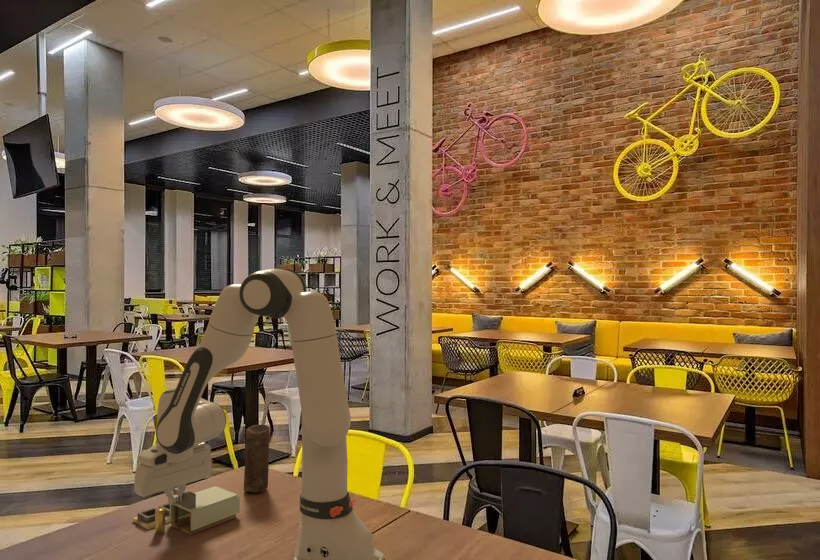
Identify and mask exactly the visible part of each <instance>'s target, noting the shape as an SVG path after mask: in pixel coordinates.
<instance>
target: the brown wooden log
mask: <svg viewBox="0 0 820 560" xmlns="http://www.w3.org/2000/svg"><path fill="white" fill-rule="evenodd" d="M244 447H245V449H244V451H245V453H244V472H243V475H244V476H243V492H248V493H252V494H258V493H260V492H262V491H264V490H267V489H268V487H269V459H270V426H268V425H267V424H254V425H252V426H249V427H248V428H247V429H246V430H245V446H244Z"/></svg>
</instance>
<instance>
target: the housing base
mask: <svg viewBox="0 0 820 560" xmlns="http://www.w3.org/2000/svg"><path fill="white" fill-rule="evenodd" d="M235 518H237V514H235V515H232V516H230V517H227V518H224V519H222V520H219V521H217V522H214V523H211V524H209V525H206V526H204V527H201V528H198V529H196V530H193V531H191V512H190V515H188V516H185V517H182V518H179V519H178V506H175V505H174V519H173V521H171V522H170V526H171V527H173V528H175V529H177V530H179V531H181V532H183V533H184V534H187V535H189V536H191V535H194V534H196V533H199V532H202V531H205V530H207V529H209V528H212V527H215V526H217V525H221V524H222V523H225V522H228V521H230V520H233V519H235Z"/></svg>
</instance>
